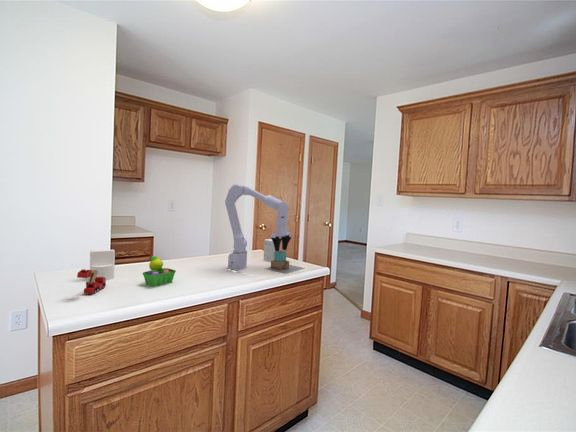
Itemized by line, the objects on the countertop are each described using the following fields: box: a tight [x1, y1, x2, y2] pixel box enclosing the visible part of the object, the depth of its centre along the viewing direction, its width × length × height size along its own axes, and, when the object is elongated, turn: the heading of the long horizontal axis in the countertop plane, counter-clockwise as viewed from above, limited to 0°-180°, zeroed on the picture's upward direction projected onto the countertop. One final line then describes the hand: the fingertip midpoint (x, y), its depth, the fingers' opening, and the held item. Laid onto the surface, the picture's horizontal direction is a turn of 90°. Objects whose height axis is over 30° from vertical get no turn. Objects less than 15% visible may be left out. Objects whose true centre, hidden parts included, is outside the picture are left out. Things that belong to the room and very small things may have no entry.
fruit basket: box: [142, 255, 177, 288], centre depth 128 cm, size 11×9×11 cm
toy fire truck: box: [76, 269, 107, 295], centre depth 113 cm, size 3×14×10 cm, turn 5°
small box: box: [263, 238, 281, 263], centre depth 181 cm, size 8×6×13 cm
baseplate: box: [264, 264, 306, 275], centre depth 162 cm, size 18×14×1 cm
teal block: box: [274, 250, 287, 262], centre depth 162 cm, size 4×4×5 cm
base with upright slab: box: [89, 249, 116, 281], centre depth 131 cm, size 9×9×12 cm
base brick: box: [270, 259, 290, 271], centre depth 162 cm, size 7×7×4 cm
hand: (280, 250), depth 161 cm, fingers open, 6 cm apart
